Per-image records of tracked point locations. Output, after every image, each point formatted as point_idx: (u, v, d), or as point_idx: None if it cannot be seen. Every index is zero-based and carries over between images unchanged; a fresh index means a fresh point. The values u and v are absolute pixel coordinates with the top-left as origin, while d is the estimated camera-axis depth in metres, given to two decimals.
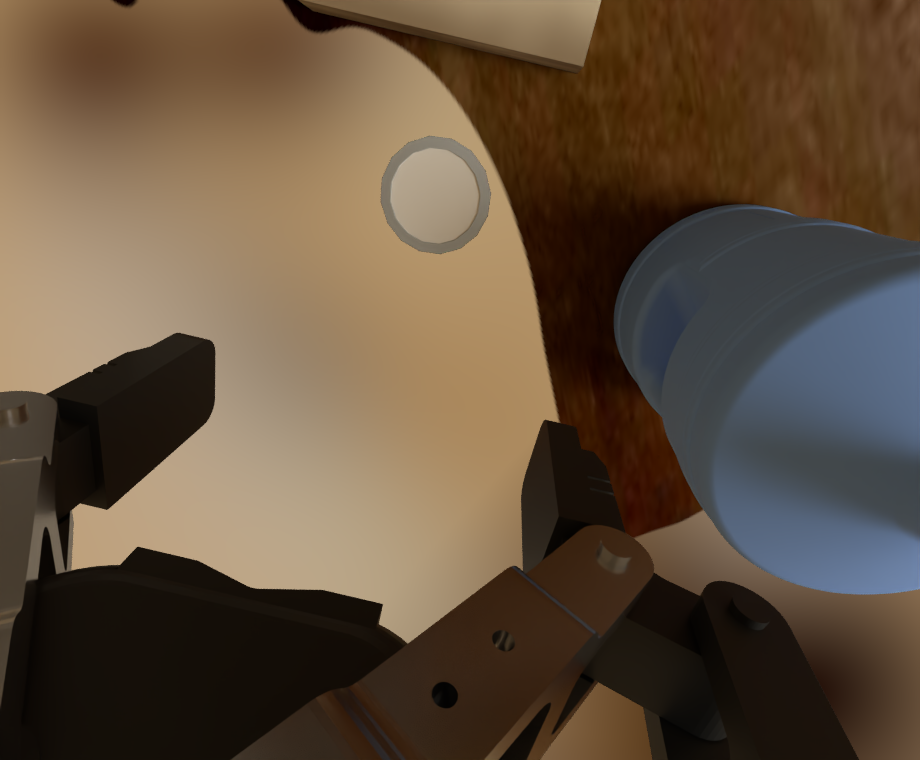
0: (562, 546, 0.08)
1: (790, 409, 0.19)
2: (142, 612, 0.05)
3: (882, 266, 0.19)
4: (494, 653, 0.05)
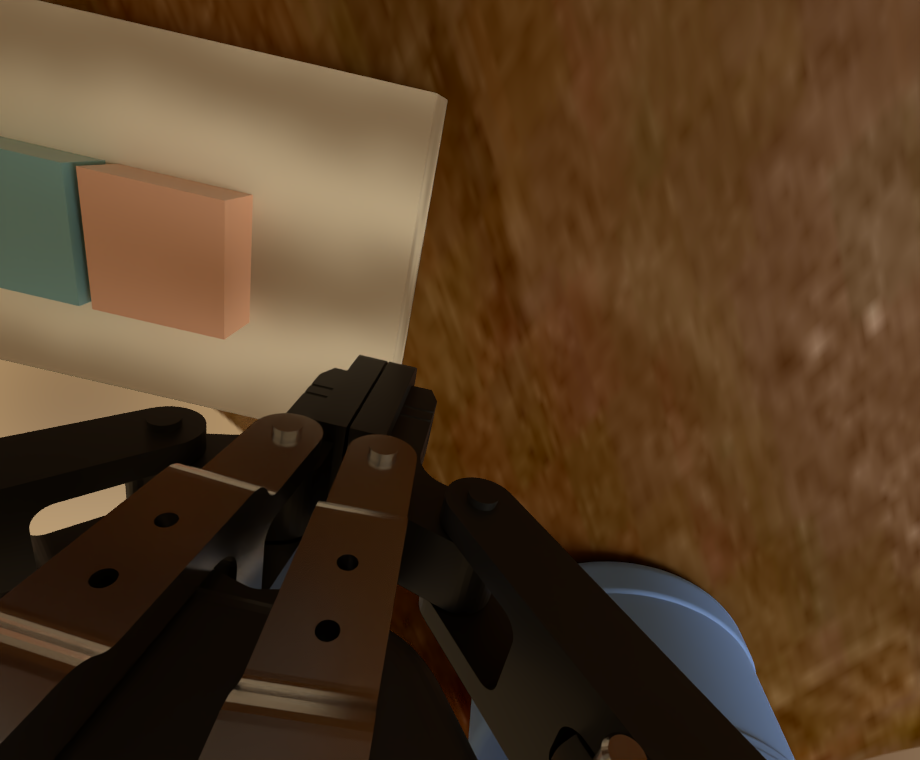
0: (341, 467, 0.08)
1: None
2: None
3: None
4: (345, 576, 0.06)
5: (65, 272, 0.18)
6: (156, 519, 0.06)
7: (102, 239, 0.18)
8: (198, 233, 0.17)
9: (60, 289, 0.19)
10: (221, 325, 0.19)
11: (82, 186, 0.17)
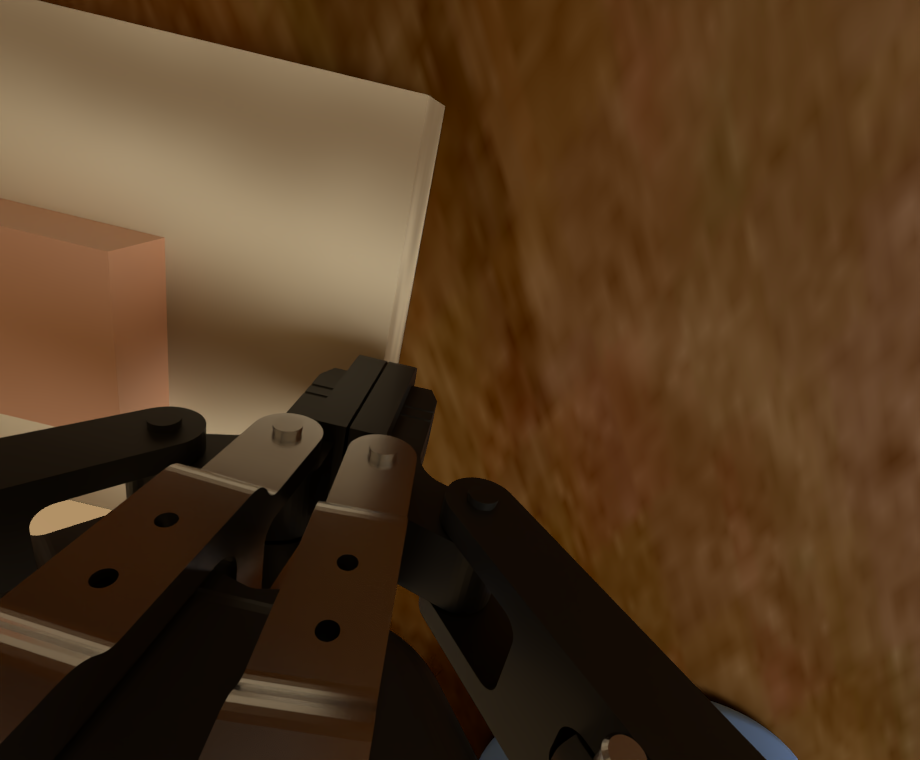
0: (341, 467, 0.08)
1: None
2: None
3: None
4: (345, 576, 0.06)
5: None
6: (156, 519, 0.06)
7: None
8: (73, 298, 0.12)
9: None
10: None
11: None
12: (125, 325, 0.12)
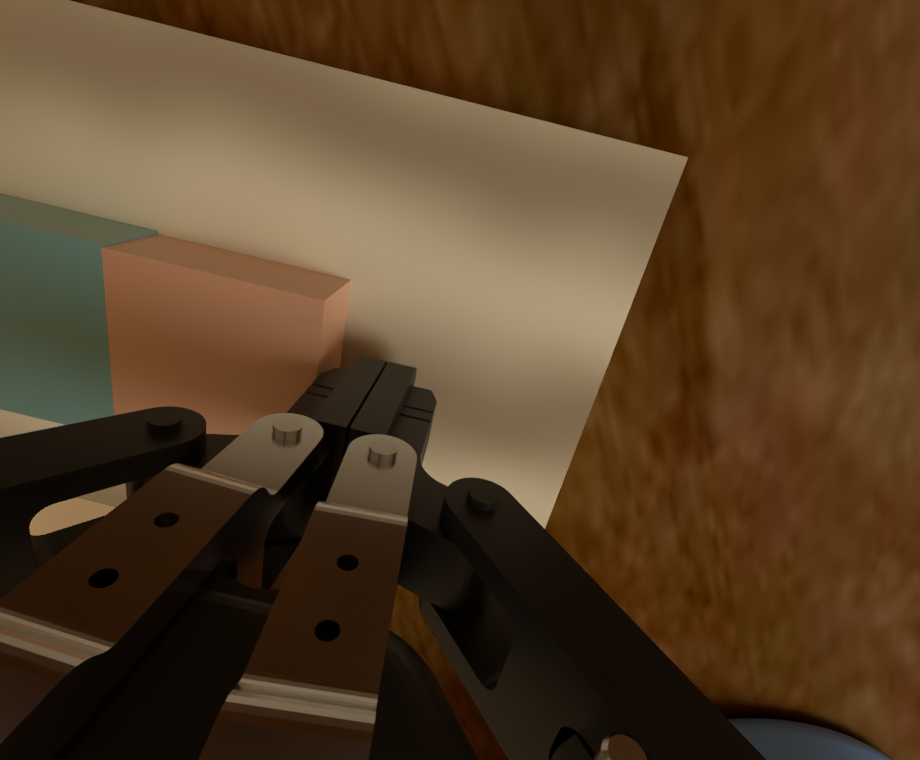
0: (341, 467, 0.08)
1: None
2: None
3: None
4: (344, 576, 0.06)
5: (98, 393, 0.13)
6: (156, 519, 0.06)
7: (136, 348, 0.12)
8: (281, 345, 0.12)
9: (91, 415, 0.13)
10: None
11: (109, 275, 0.11)
12: (322, 369, 0.12)
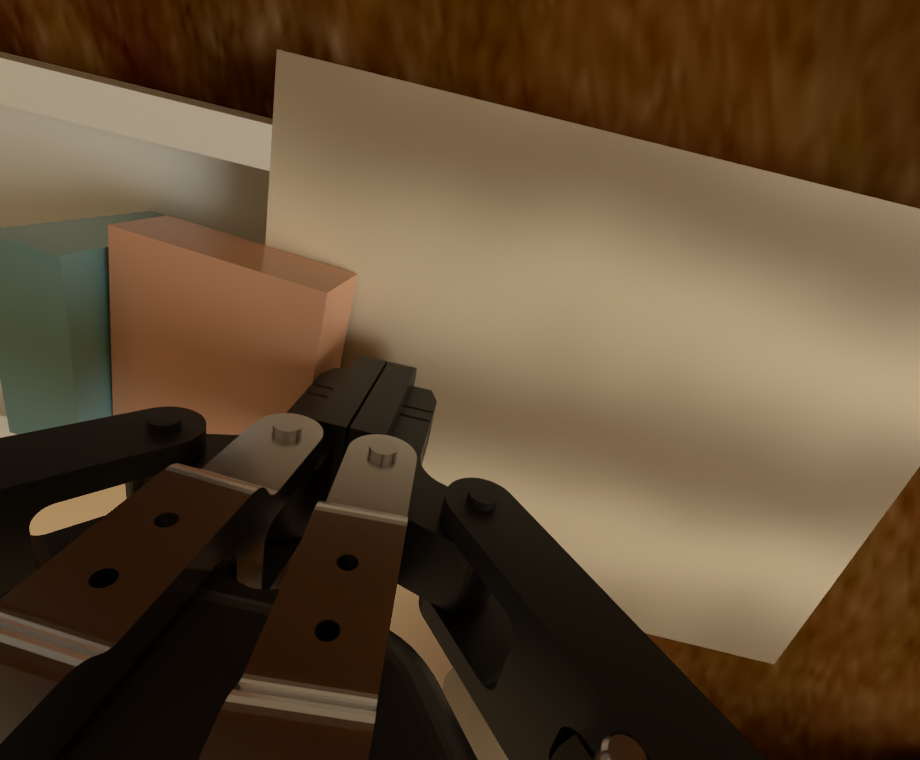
0: (341, 467, 0.08)
1: None
2: None
3: None
4: (344, 575, 0.06)
5: None
6: (156, 519, 0.06)
7: (137, 329, 0.12)
8: (280, 335, 0.11)
9: None
10: None
11: (115, 253, 0.11)
12: (321, 362, 0.12)
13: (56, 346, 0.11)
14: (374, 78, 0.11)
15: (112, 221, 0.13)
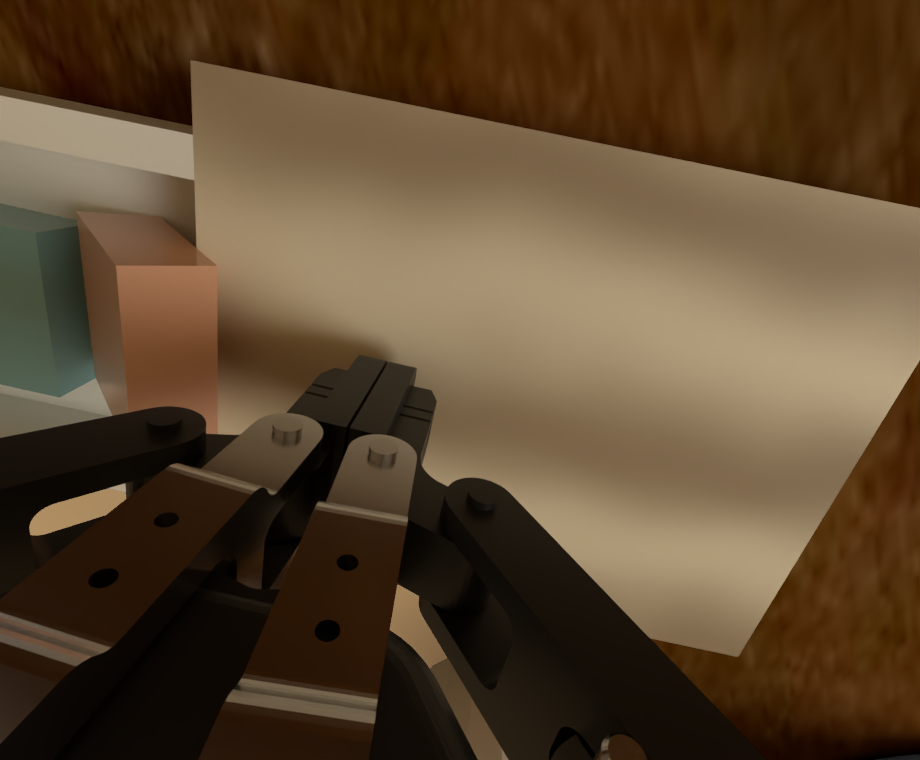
0: (341, 467, 0.08)
1: None
2: None
3: None
4: (345, 576, 0.06)
5: None
6: (156, 519, 0.06)
7: (89, 299, 0.14)
8: (112, 309, 0.12)
9: None
10: None
11: (79, 234, 0.14)
12: (144, 346, 0.12)
13: None
14: (287, 84, 0.11)
15: (15, 211, 0.15)
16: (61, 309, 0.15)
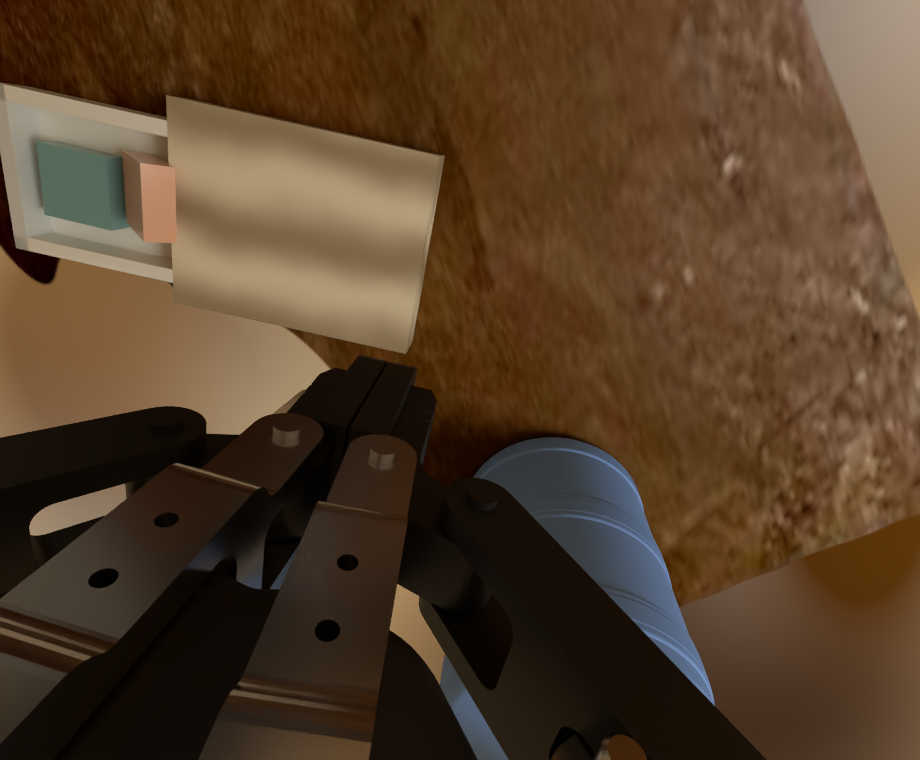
0: (341, 467, 0.08)
1: (478, 728, 0.27)
2: None
3: None
4: (345, 576, 0.06)
5: None
6: (156, 519, 0.06)
7: (126, 186, 0.36)
8: (137, 181, 0.33)
9: None
10: (142, 233, 0.34)
11: (123, 159, 0.35)
12: (148, 194, 0.33)
13: None
14: (199, 103, 0.33)
15: (95, 151, 0.36)
16: (113, 191, 0.36)
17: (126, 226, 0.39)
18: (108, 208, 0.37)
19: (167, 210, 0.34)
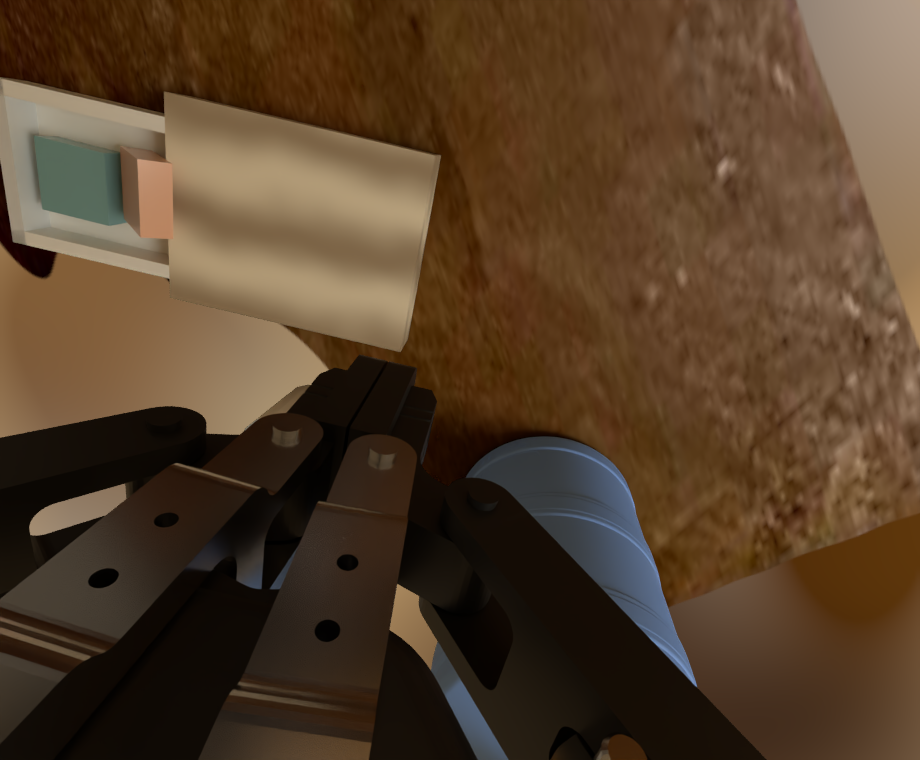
0: (341, 467, 0.08)
1: (466, 723, 0.27)
2: None
3: None
4: (345, 576, 0.06)
5: None
6: (156, 519, 0.06)
7: (123, 181, 0.36)
8: (135, 177, 0.33)
9: None
10: (139, 228, 0.34)
11: (120, 155, 0.36)
12: (145, 190, 0.33)
13: None
14: (196, 100, 0.33)
15: (93, 146, 0.37)
16: (111, 187, 0.37)
17: (123, 221, 0.39)
18: (105, 203, 0.37)
19: (164, 206, 0.35)
